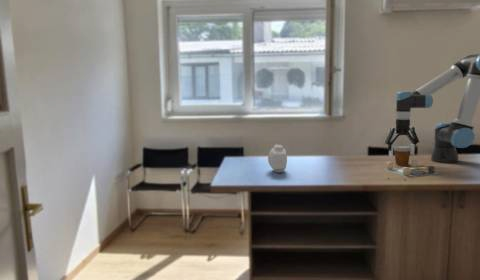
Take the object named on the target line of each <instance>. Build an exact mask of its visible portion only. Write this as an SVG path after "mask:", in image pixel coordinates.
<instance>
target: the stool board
mask: <svg viewBox="0 0 480 280" xmlns="http://www.w3.org/2000/svg"><path fill="white" fill-rule="evenodd" d="M416 167H418V160H417V159H412V160H411V166H400V167H394V162H392V161H387V162H386V168H384V170H385V171H387V172H389V173H393V174H395V175H398V176H401V177H404V179H403V180H407V179H405V178H406V177H407V178H408V177H409V178H410V177H418V176H419V177H420V176H430V175H439V174H440V173H438V172H435V171H434V173H423V170H416V171H413V174H409V168H416Z"/></svg>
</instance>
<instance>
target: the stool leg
mask: <svg viewBox="0 0 480 280" xmlns="http://www.w3.org/2000/svg"><path fill="white" fill-rule="evenodd" d="M416 170H423V173H434V172H435V166H434V165H427V166H422V167H421V166H420V167H419V166H417V167H416V168H409V174H413V171H416Z"/></svg>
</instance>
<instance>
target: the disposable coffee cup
mask: <svg viewBox="0 0 480 280" xmlns="http://www.w3.org/2000/svg"><path fill="white" fill-rule="evenodd" d="M410 151H411V145H393V153H394V158H395V159H394V161H395V165H396V166H400V167H408V166H409V163H410Z"/></svg>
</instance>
